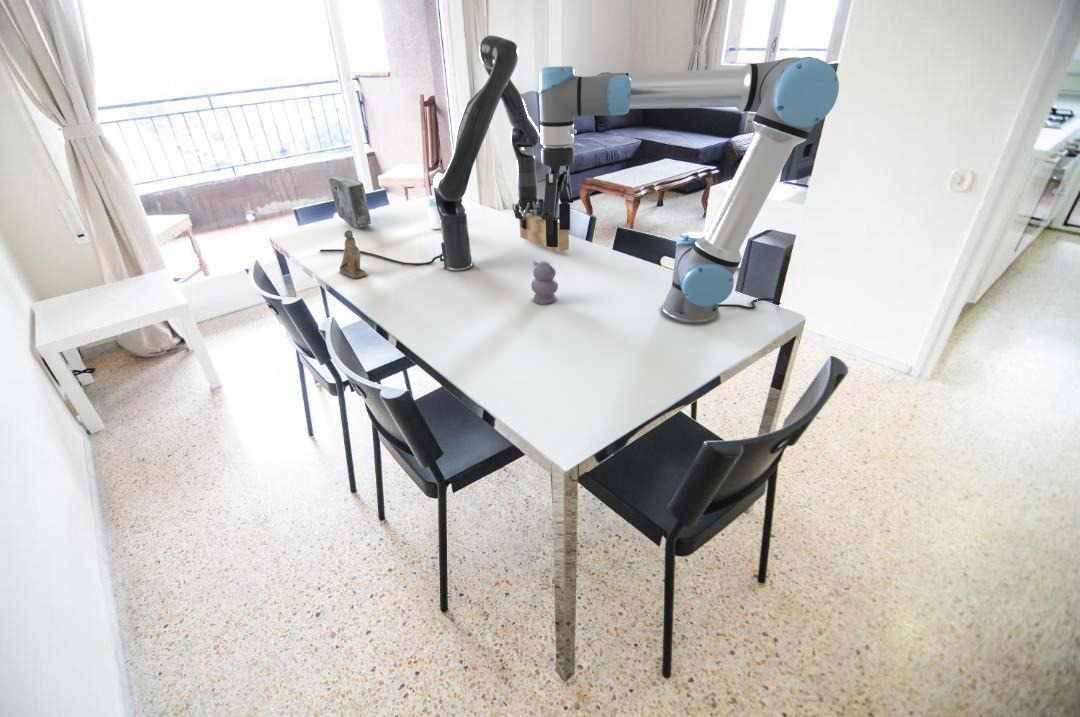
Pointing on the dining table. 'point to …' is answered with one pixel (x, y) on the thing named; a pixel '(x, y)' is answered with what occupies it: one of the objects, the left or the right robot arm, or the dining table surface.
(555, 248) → the bar
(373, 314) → the dining table surface
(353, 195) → the concrete block
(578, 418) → the dining table surface
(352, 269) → the worn brown figurine
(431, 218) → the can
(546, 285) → the cat figurine
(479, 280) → the dining table surface
